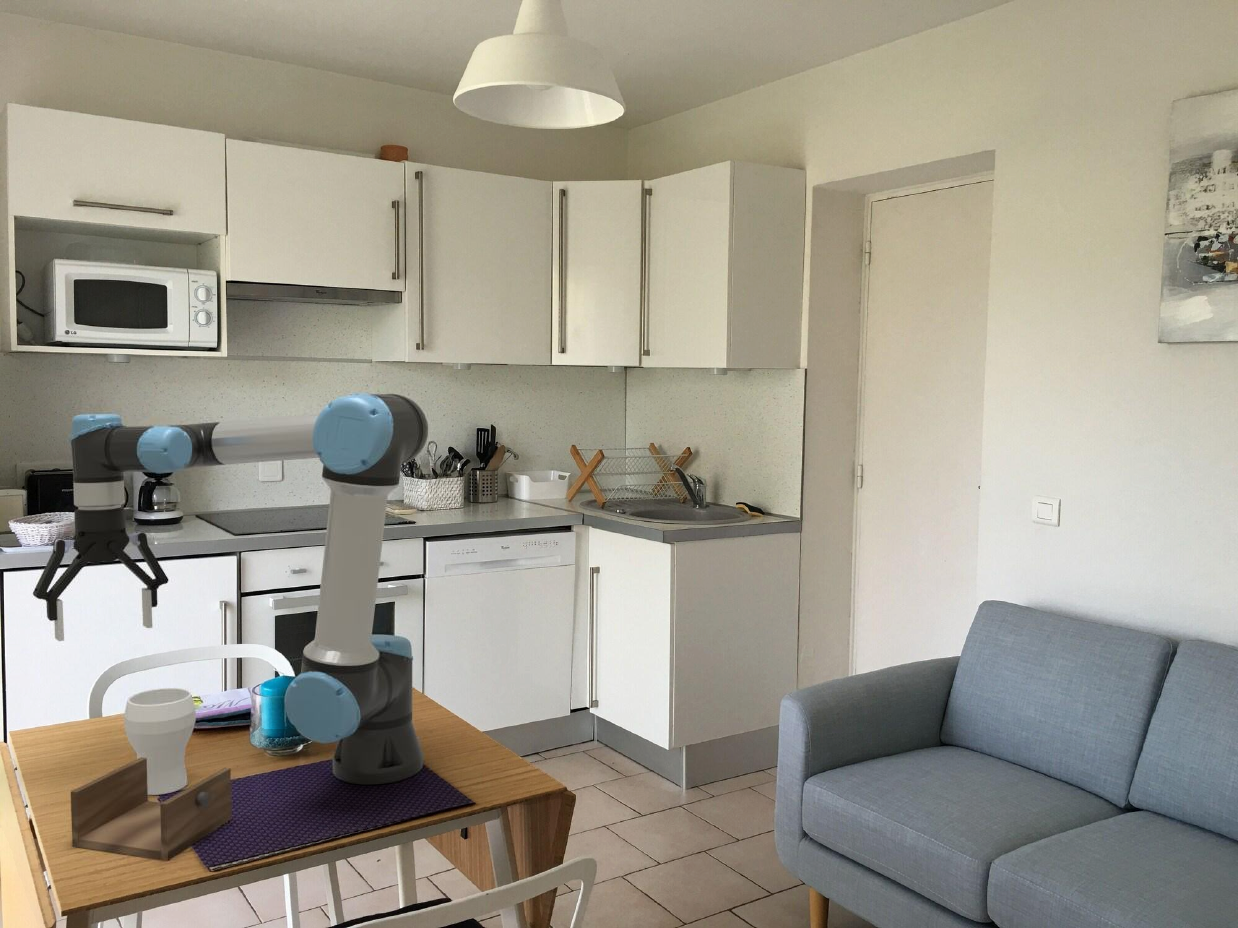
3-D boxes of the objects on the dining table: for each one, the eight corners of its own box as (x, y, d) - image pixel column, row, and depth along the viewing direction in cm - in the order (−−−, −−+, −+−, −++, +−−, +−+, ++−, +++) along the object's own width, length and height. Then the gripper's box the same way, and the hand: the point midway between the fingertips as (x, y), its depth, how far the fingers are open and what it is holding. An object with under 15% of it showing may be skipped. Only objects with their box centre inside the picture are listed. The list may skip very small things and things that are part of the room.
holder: (237, 820, 154) (236, 768, 153) (173, 861, 140) (172, 805, 140) (137, 806, 159) (135, 756, 158) (66, 845, 145) (64, 790, 144)
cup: (177, 769, 174) (175, 683, 173) (209, 784, 168) (207, 695, 166) (114, 787, 166) (111, 697, 165) (145, 804, 159) (142, 710, 158)
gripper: (170, 499, 180) (174, 618, 182) (9, 510, 164) (15, 640, 165) (184, 503, 175) (189, 625, 176) (18, 515, 158) (25, 649, 160)
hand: (104, 633), depth 171 cm, fingers open, 13 cm apart
